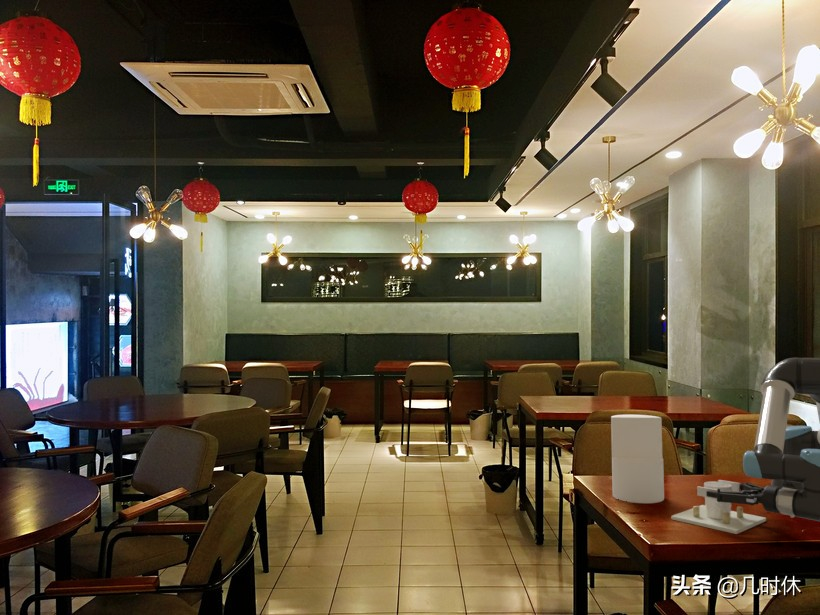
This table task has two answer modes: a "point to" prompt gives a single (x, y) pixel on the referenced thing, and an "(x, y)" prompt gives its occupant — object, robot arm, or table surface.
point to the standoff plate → (731, 525)
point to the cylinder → (637, 458)
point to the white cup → (714, 507)
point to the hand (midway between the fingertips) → (708, 487)
